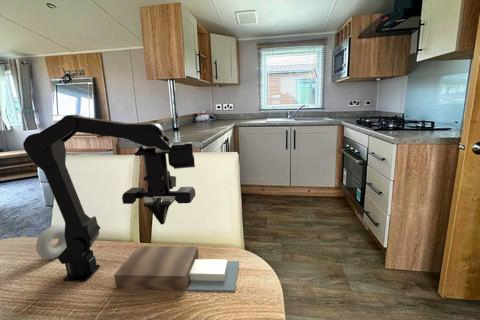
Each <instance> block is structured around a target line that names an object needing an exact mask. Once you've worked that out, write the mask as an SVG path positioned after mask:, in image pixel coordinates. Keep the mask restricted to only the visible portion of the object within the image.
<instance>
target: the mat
mask: <svg viewBox="0 0 480 320" xmlns="http://www.w3.org/2000/svg"><path fill="white" fill-rule="evenodd" d="M227 262H228V267H227V272H226V277H225V281H203V280H190V282H189V285H188V287H187V290H188V291H192V292H193V291H194V292H230V293H231V292H232V293H233V292H235V291H236V286H237V279H238V271H239V265H240V261H239V260H227Z"/></svg>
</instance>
